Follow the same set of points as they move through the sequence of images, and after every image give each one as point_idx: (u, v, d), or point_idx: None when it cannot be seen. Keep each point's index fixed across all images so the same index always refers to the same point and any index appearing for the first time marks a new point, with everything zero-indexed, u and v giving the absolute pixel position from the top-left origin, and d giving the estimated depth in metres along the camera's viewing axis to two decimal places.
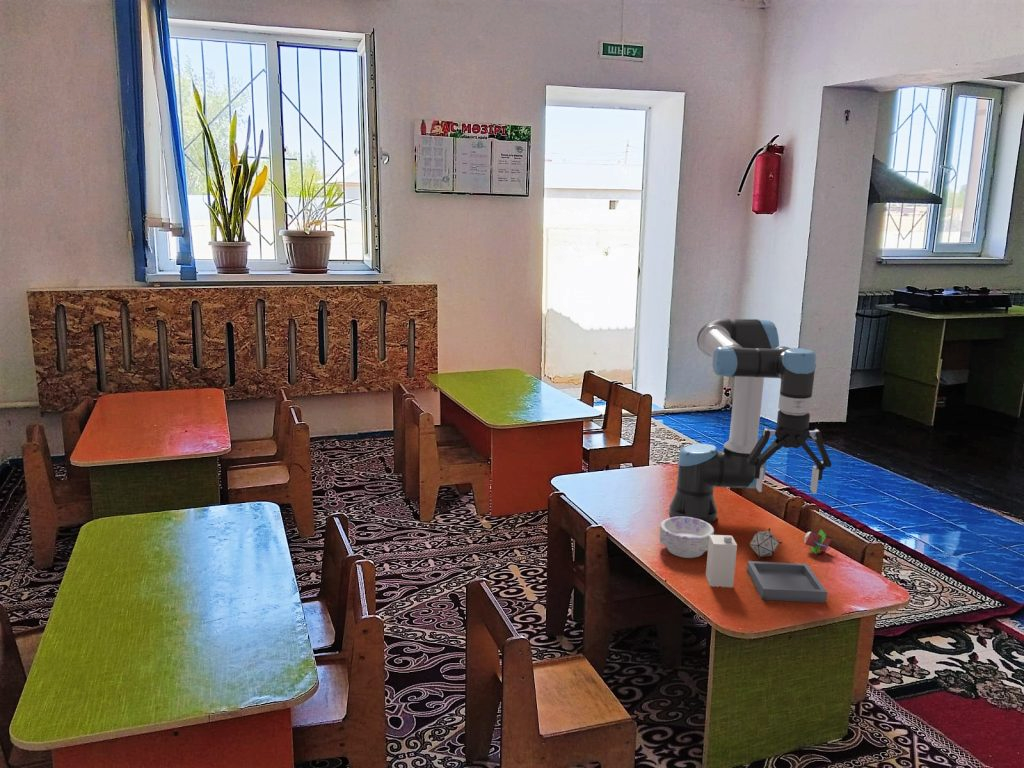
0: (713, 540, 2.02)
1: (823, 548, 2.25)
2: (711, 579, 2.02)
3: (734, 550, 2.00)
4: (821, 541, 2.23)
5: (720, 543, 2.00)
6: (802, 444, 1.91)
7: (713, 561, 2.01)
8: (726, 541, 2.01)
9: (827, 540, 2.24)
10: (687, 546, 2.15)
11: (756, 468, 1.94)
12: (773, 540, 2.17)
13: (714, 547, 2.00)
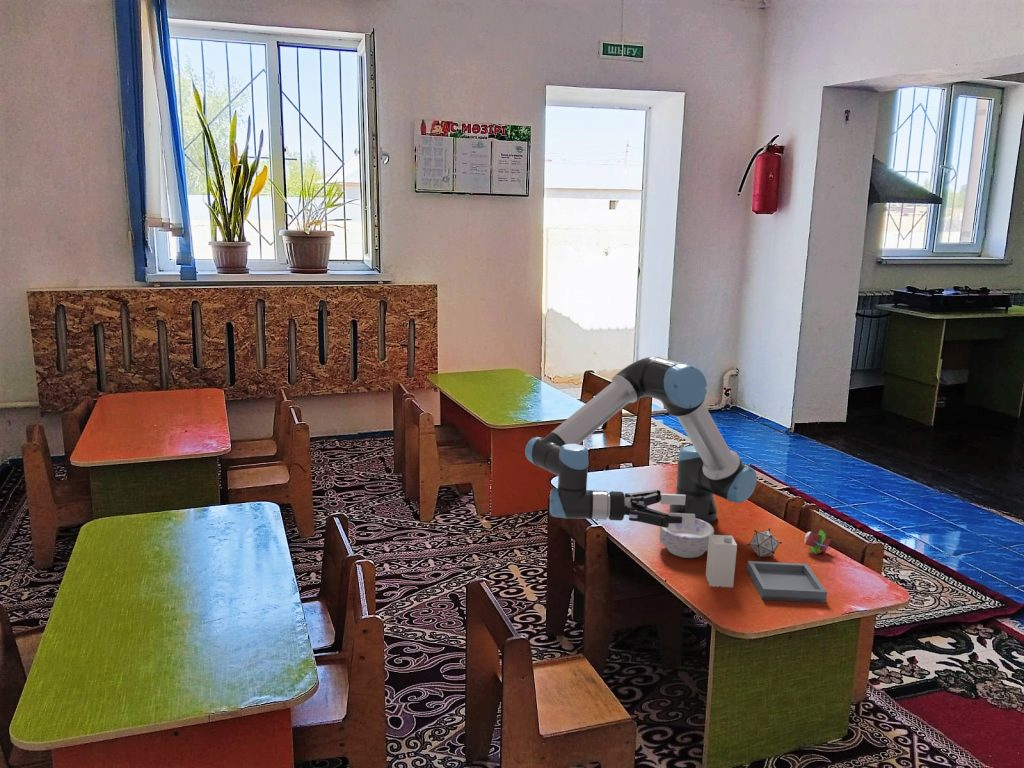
0: (713, 540, 2.02)
1: (823, 548, 2.25)
2: (711, 579, 2.02)
3: (734, 550, 2.00)
4: (821, 541, 2.23)
5: (720, 543, 2.00)
6: None
7: (713, 561, 2.01)
8: (726, 541, 2.01)
9: (827, 540, 2.24)
10: (687, 546, 2.15)
11: None
12: (773, 540, 2.17)
13: (714, 547, 2.00)
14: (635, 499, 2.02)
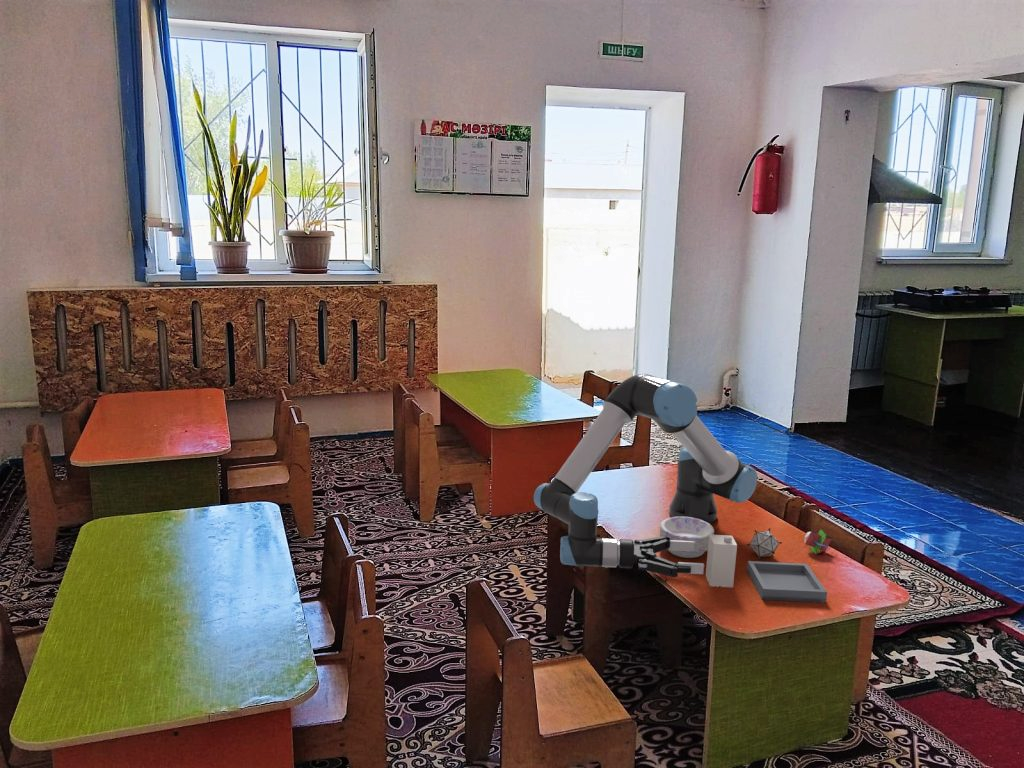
0: (713, 540, 2.02)
1: (823, 548, 2.25)
2: (711, 579, 2.02)
3: (734, 550, 2.00)
4: (821, 541, 2.23)
5: (720, 543, 2.00)
6: None
7: (713, 561, 2.01)
8: (726, 541, 2.01)
9: (827, 540, 2.24)
10: None
11: None
12: (773, 540, 2.17)
13: (714, 547, 2.00)
14: (644, 547, 2.05)
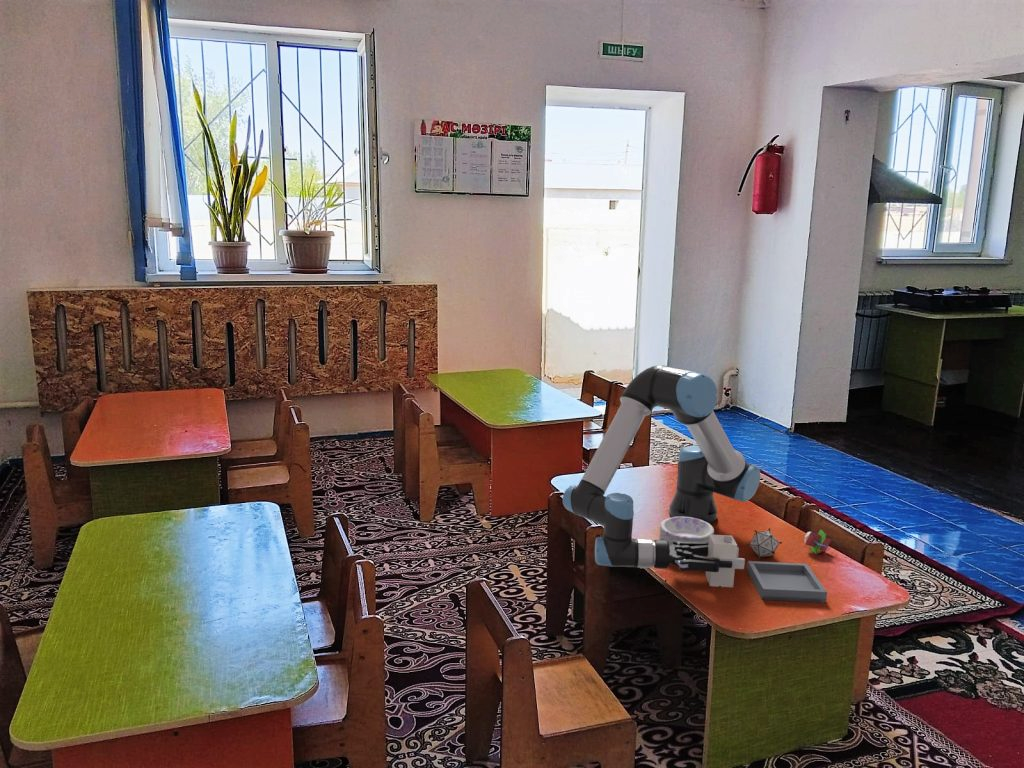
0: (713, 540, 2.02)
1: (823, 548, 2.25)
2: (711, 579, 2.02)
3: (734, 550, 2.00)
4: (821, 541, 2.23)
5: (720, 543, 2.00)
6: None
7: None
8: (726, 541, 2.01)
9: (827, 540, 2.24)
10: None
11: None
12: (773, 540, 2.17)
13: (714, 547, 2.00)
14: (679, 548, 2.05)
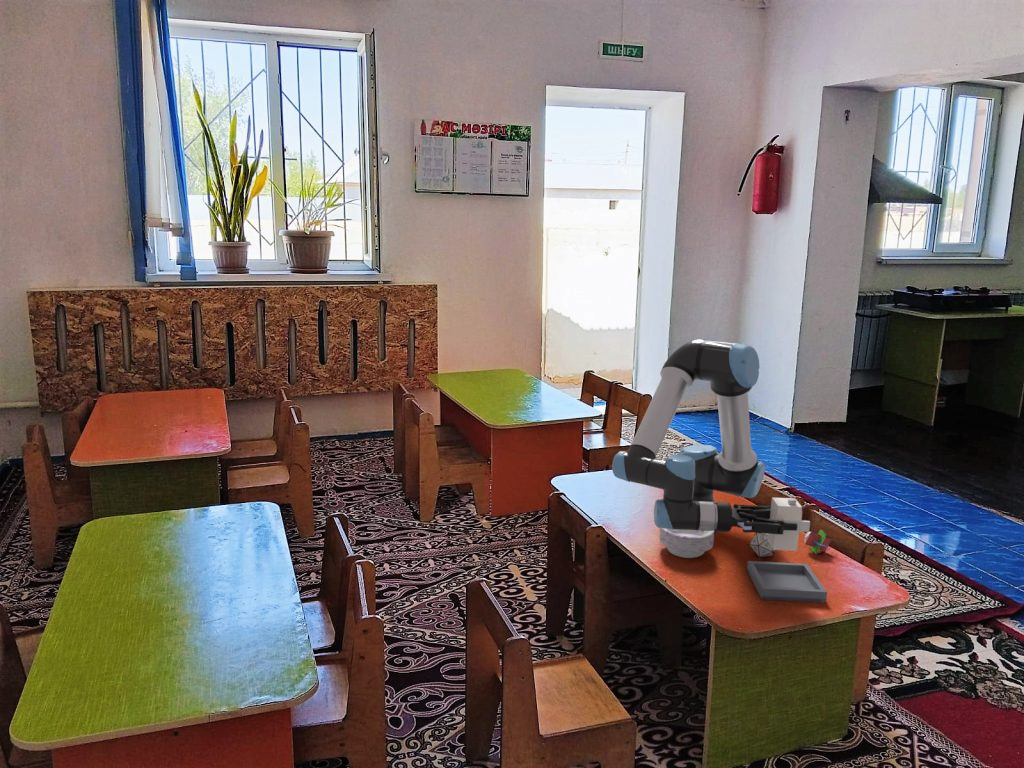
0: (777, 502, 1.97)
1: (823, 548, 2.25)
2: (774, 542, 1.97)
3: (799, 512, 1.95)
4: (821, 541, 2.23)
5: (785, 505, 1.95)
6: None
7: None
8: (790, 503, 1.96)
9: (827, 540, 2.24)
10: (687, 546, 2.15)
11: None
12: None
13: (778, 509, 1.95)
14: (741, 510, 2.00)
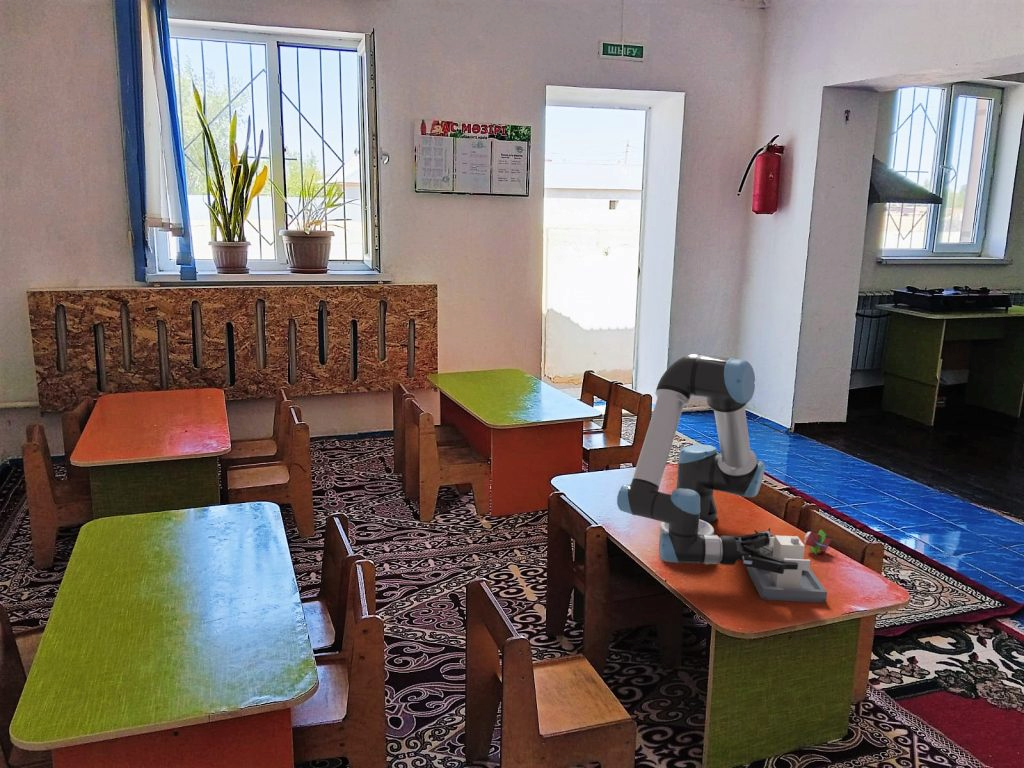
0: (780, 541, 2.00)
1: (823, 548, 2.25)
2: (778, 580, 2.00)
3: (802, 551, 1.98)
4: (821, 541, 2.23)
5: (788, 544, 1.98)
6: None
7: None
8: (793, 542, 1.99)
9: (827, 540, 2.24)
10: None
11: None
12: None
13: (781, 548, 1.98)
14: (746, 543, 2.02)
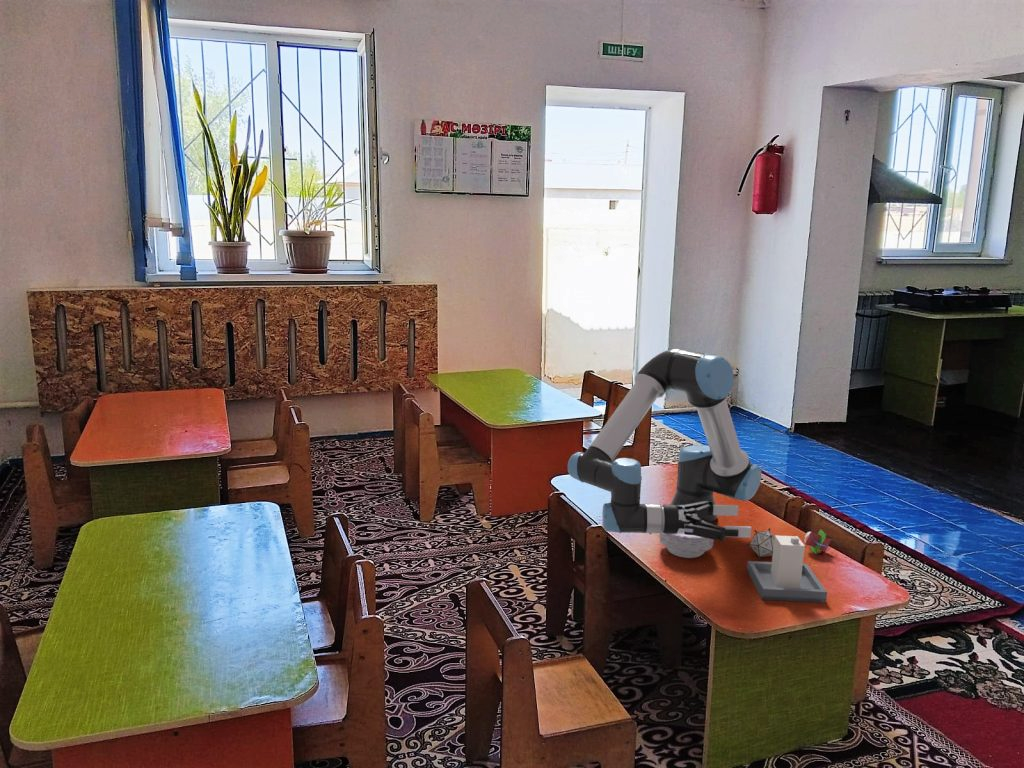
0: (780, 541, 2.00)
1: (823, 548, 2.25)
2: (778, 580, 2.00)
3: (802, 551, 1.98)
4: (821, 541, 2.23)
5: (788, 544, 1.98)
6: None
7: (780, 562, 1.99)
8: (793, 542, 1.99)
9: (827, 540, 2.24)
10: (688, 546, 2.15)
11: None
12: (773, 540, 2.17)
13: (781, 548, 1.98)
14: (689, 512, 2.01)
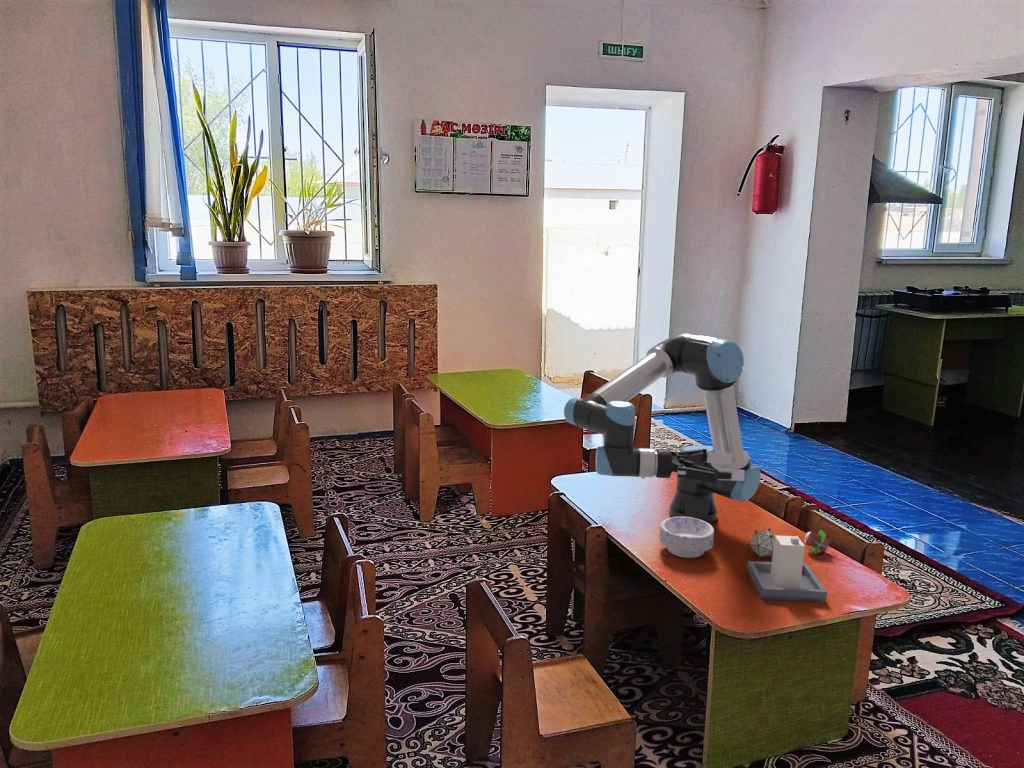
0: (780, 541, 2.00)
1: (823, 548, 2.25)
2: (778, 580, 2.00)
3: (802, 551, 1.98)
4: (821, 541, 2.23)
5: (788, 544, 1.98)
6: None
7: (780, 562, 1.99)
8: (793, 542, 1.99)
9: (827, 540, 2.24)
10: (688, 546, 2.15)
11: None
12: (773, 540, 2.17)
13: (781, 548, 1.98)
14: (682, 457, 2.00)
